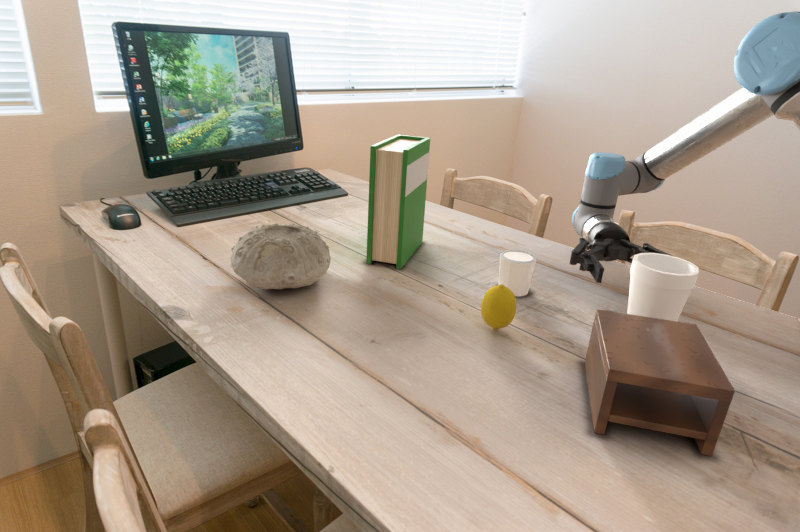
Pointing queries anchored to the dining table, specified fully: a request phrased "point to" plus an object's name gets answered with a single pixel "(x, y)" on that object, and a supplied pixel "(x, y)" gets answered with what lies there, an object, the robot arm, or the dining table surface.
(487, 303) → the lemon
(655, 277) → the foam cup
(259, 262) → the decorative shell
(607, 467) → the dining table surface
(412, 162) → the hardback book
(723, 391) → the shelf
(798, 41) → the robot arm
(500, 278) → the white jar candle
